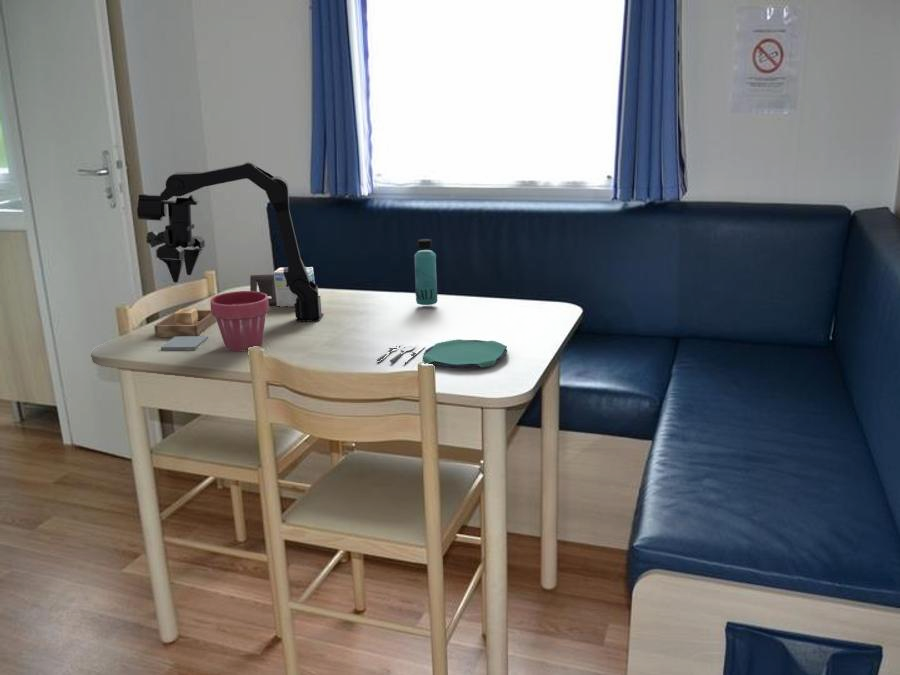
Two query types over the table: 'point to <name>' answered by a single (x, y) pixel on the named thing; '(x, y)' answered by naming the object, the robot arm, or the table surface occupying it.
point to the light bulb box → (286, 288)
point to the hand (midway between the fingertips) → (182, 278)
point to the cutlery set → (462, 353)
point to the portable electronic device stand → (264, 286)
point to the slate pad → (184, 342)
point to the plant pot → (240, 318)
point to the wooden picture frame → (171, 330)
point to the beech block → (186, 317)
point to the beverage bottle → (425, 274)
